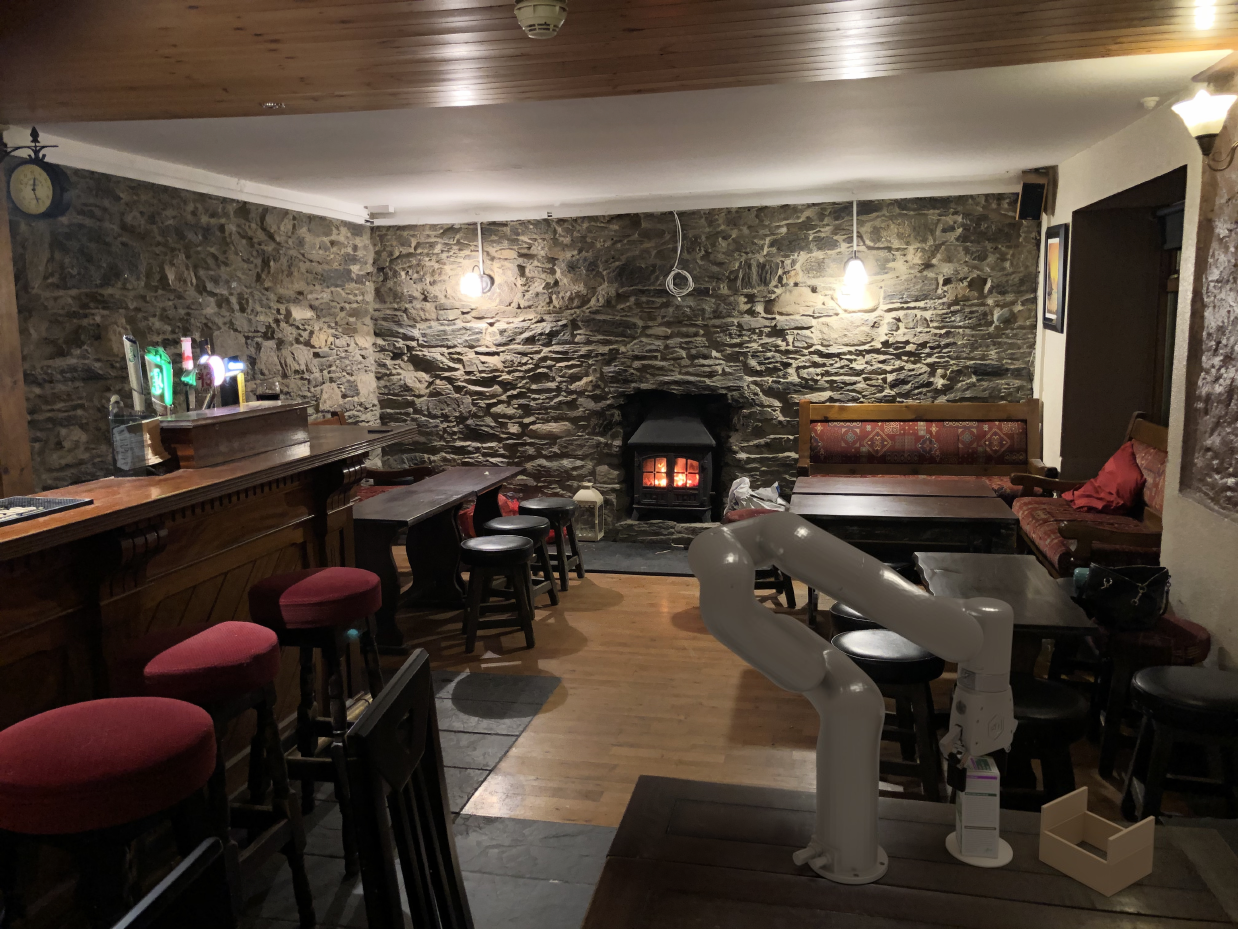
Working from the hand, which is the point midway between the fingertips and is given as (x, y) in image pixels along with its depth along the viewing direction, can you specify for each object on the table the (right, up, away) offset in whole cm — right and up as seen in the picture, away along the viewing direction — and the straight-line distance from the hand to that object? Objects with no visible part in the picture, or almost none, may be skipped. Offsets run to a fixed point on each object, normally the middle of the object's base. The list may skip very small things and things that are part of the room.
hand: (976, 780), depth 141 cm
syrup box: (+1, -12, +2) cm, 12 cm away
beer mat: (+1, -12, +2) cm, 12 cm away
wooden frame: (+17, -12, -3) cm, 21 cm away
